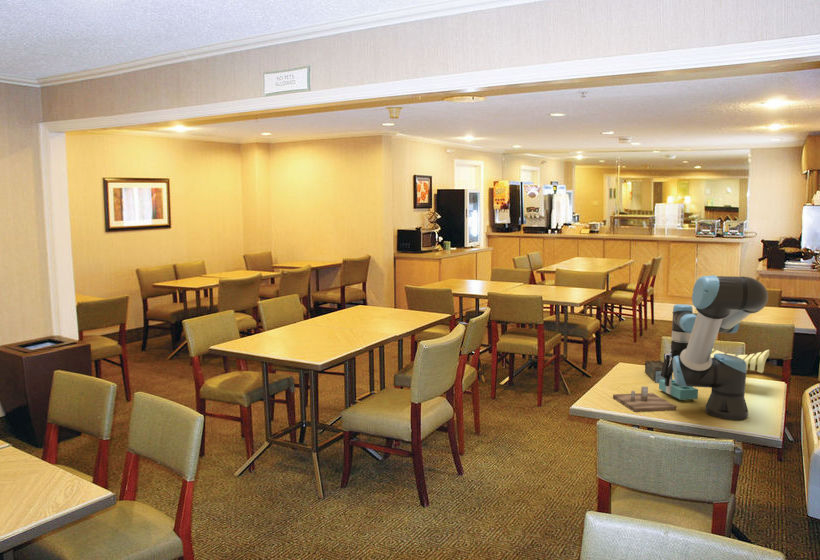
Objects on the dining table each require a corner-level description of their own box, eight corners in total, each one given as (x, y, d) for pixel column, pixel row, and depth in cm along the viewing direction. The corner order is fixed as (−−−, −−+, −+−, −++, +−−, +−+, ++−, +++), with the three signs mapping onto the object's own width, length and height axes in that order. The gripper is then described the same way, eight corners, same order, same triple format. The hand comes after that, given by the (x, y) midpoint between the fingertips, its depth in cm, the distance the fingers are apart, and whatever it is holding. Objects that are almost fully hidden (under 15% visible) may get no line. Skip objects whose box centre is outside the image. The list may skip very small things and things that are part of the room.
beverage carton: (654, 383, 293) (655, 369, 292) (643, 372, 311) (644, 359, 311) (672, 384, 292) (673, 370, 291) (660, 373, 311) (661, 359, 310)
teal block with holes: (697, 398, 266) (698, 389, 265) (679, 399, 264) (680, 390, 264) (675, 388, 281) (676, 379, 281) (658, 388, 280) (659, 379, 280)
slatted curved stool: (686, 383, 292) (688, 345, 290) (695, 376, 305) (697, 339, 302) (759, 396, 274) (763, 356, 272) (766, 388, 287) (769, 349, 284)
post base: (676, 410, 255) (677, 393, 254) (634, 412, 252) (635, 394, 251) (652, 396, 273) (653, 380, 272) (612, 398, 270) (613, 381, 269)
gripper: (697, 338, 276) (694, 389, 278) (653, 339, 272) (650, 391, 275) (708, 342, 268) (705, 394, 271) (663, 343, 265) (660, 396, 267)
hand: (677, 393), depth 273 cm, fingers closed on teal block with holes, 8 cm apart
